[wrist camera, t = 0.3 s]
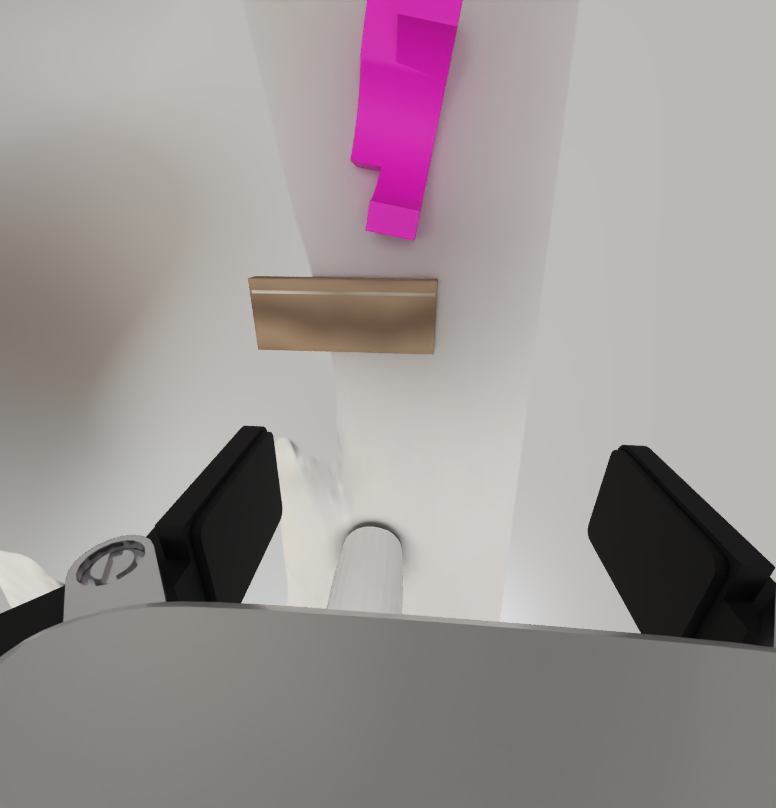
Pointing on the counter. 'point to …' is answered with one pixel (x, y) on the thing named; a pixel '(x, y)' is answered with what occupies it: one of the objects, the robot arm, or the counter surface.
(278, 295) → the plank
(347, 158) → the counter surface
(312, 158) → the counter surface
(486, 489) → the counter surface
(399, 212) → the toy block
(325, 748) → the robot arm
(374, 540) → the cup
